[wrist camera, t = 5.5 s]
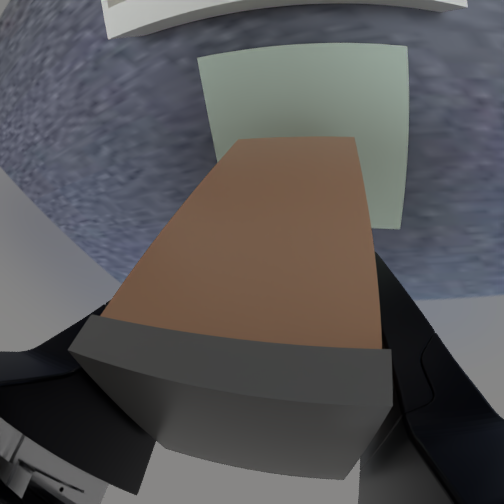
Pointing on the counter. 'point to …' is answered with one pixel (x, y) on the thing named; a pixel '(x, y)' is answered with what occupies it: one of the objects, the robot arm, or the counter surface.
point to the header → (219, 11)
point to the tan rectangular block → (255, 316)
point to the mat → (319, 106)
